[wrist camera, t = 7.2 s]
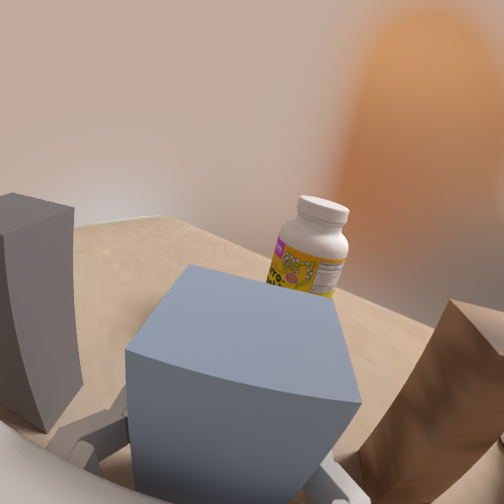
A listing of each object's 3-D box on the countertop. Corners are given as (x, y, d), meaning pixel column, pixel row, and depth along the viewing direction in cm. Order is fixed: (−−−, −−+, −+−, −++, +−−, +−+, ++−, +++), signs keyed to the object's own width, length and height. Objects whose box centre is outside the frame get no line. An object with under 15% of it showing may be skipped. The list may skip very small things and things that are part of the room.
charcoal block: (29, 358, 17) (12, 192, 13) (83, 384, 17) (74, 207, 13) (-9, 397, 13) (-53, 213, 9) (47, 434, 13) (3, 235, 9)
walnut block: (358, 450, 17) (449, 299, 13) (416, 450, 17) (507, 313, 13) (368, 509, 12) (500, 355, 8) (431, 502, 12) (554, 360, 8)
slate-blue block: (167, 455, 14) (189, 263, 10) (253, 475, 14) (332, 298, 10) (142, 525, 10) (125, 349, 6) (244, 548, 10) (362, 403, 6)
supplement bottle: (246, 307, 33) (275, 188, 29) (296, 305, 36) (328, 198, 32) (276, 346, 27) (318, 208, 23) (330, 338, 31) (373, 217, 26)
